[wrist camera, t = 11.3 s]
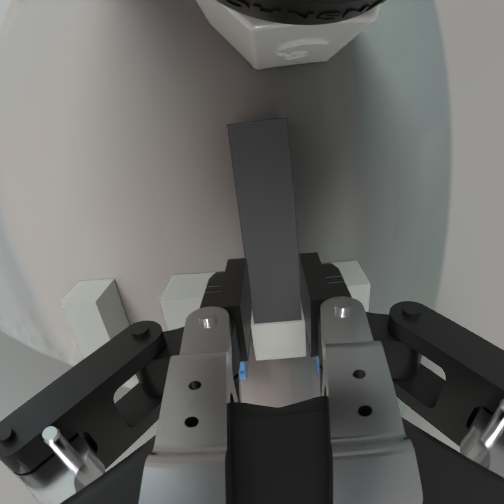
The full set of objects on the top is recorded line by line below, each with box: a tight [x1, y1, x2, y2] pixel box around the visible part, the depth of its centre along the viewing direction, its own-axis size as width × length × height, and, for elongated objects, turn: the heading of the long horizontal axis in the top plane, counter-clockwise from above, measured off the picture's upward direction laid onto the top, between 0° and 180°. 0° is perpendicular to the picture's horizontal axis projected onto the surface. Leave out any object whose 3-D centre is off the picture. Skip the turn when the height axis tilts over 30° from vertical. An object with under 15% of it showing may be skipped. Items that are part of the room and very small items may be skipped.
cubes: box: [59, 260, 371, 381], centre depth 22 cm, size 7×22×4 cm, turn 96°
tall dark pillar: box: [227, 118, 306, 361], centre depth 20 cm, size 15×3×4 cm, turn 7°
